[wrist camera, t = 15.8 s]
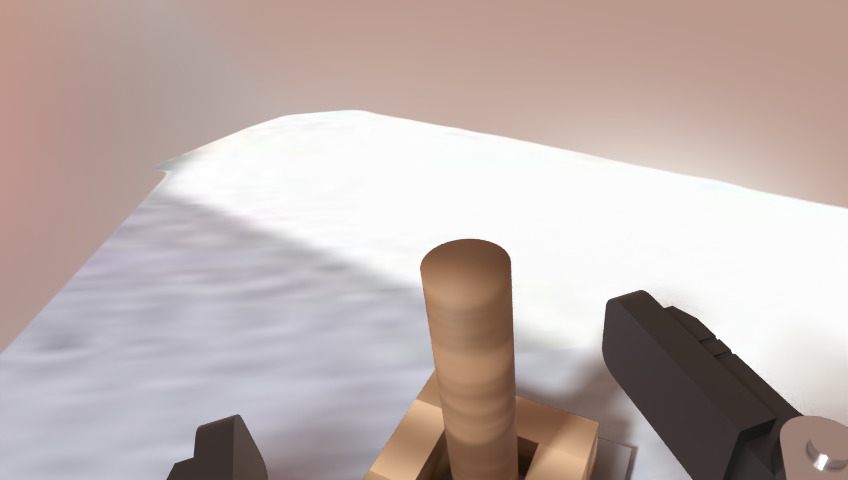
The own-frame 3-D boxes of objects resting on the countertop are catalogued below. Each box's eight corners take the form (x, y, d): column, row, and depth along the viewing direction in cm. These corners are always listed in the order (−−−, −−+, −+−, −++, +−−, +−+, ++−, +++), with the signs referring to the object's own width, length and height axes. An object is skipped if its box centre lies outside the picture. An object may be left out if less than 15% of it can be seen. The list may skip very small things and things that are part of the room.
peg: (505, 555, 32) (488, 302, 21) (447, 525, 34) (403, 280, 23) (528, 497, 35) (524, 248, 24) (473, 473, 36) (445, 232, 26)
